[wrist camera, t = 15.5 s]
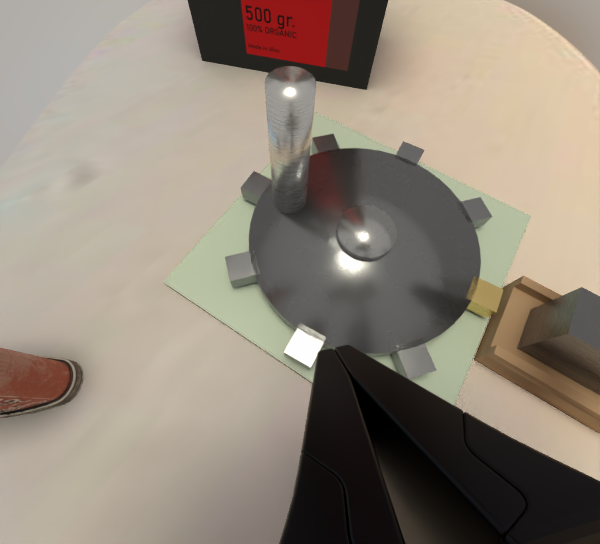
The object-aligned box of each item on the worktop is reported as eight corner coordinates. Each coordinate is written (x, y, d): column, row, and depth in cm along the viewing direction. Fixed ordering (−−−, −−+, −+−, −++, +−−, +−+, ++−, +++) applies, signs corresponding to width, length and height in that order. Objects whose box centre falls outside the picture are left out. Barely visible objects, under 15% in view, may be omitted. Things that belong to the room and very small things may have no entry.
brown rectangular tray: (617, 349, 22) (651, 342, 20) (598, 432, 20) (634, 435, 18) (503, 287, 23) (523, 275, 21) (474, 359, 21) (493, 353, 19)
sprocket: (548, 335, 21) (753, 273, 12) (262, 424, 18) (237, 436, 9) (424, 126, 28) (491, -14, 19) (206, 168, 26) (160, 29, 16)
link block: (609, 351, 20) (680, 337, 16) (599, 395, 19) (673, 390, 15) (530, 309, 21) (581, 287, 17) (516, 348, 20) (568, 333, 16)
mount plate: (528, 218, 26) (530, 215, 25) (428, 461, 19) (430, 462, 18) (315, 114, 30) (315, 111, 29) (165, 283, 22) (163, 282, 22)
